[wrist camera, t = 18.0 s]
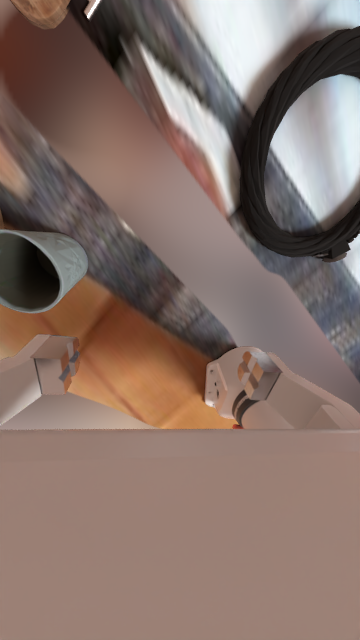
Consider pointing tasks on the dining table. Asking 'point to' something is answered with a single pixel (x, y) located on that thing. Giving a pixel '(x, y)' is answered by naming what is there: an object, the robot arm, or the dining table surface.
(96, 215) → the dining table surface
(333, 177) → the dining table surface
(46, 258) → the grey hollow cylinder
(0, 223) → the notch board
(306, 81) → the cable lock
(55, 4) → the chopping board
